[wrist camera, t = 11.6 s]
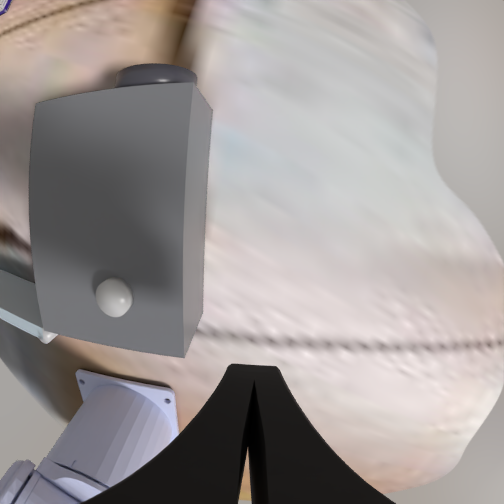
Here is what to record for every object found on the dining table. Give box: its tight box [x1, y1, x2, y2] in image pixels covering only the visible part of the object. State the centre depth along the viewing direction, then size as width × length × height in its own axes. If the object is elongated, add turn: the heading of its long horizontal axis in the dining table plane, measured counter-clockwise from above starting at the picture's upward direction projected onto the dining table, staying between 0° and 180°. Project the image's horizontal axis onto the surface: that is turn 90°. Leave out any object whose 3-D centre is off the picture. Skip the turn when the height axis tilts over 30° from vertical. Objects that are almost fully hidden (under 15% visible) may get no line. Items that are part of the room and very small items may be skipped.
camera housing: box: [29, 64, 213, 358], centre depth 13 cm, size 13×8×6 cm, turn 176°
